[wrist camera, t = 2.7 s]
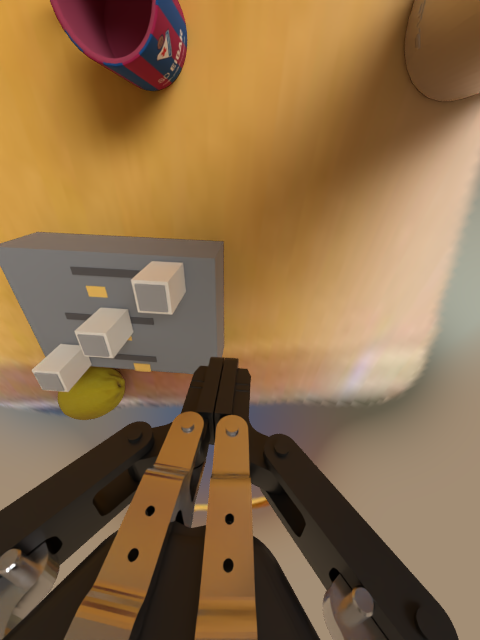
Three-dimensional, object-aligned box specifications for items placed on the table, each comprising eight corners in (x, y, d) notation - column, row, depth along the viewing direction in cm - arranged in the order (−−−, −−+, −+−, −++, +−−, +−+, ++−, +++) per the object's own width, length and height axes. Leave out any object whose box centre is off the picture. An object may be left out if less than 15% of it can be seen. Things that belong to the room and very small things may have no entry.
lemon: (92, 392, 44) (62, 434, 38) (66, 359, 40) (27, 398, 34) (148, 385, 42) (126, 427, 35) (126, 349, 38) (97, 389, 32)
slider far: (84, 345, 30) (57, 373, 26) (91, 364, 32) (67, 393, 28) (60, 343, 30) (29, 371, 26) (68, 362, 32) (41, 391, 28)
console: (223, 241, 29) (214, 258, 23) (224, 348, 37) (217, 379, 32) (37, 232, 30) (-11, 246, 24) (78, 338, 38) (49, 366, 33)
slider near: (183, 262, 24) (167, 283, 20) (185, 291, 25) (171, 315, 21) (151, 261, 24) (129, 280, 20) (156, 289, 25) (136, 313, 21)
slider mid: (127, 309, 27) (104, 334, 23) (133, 332, 29) (112, 359, 25) (100, 307, 27) (72, 332, 23) (107, 330, 29) (82, 357, 25)
